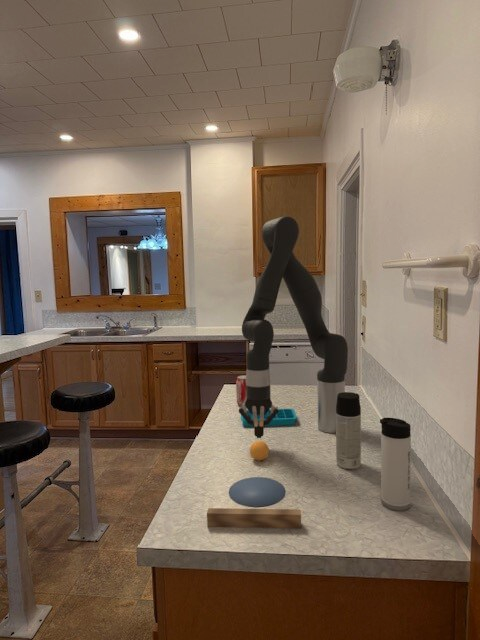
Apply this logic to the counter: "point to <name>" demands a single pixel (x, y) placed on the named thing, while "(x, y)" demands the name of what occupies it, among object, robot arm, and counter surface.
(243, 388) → the soda can
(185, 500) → the counter surface
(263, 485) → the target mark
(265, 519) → the wall
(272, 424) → the ice cube tray
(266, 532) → the counter surface
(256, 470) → the counter surface
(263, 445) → the ball
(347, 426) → the spray can
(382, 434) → the travel mug
